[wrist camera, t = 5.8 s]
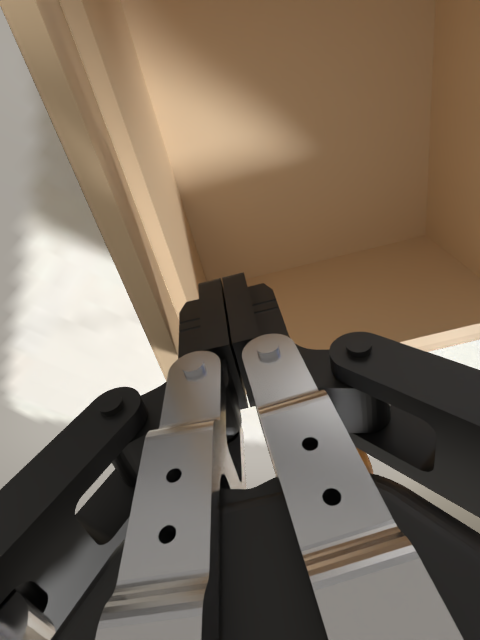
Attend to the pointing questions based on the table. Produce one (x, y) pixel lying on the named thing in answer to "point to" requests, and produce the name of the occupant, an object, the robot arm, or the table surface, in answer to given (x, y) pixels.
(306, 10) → the carton
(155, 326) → the outer flap
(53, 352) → the table surface
